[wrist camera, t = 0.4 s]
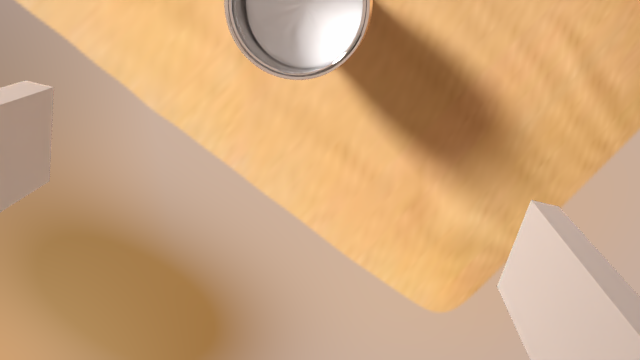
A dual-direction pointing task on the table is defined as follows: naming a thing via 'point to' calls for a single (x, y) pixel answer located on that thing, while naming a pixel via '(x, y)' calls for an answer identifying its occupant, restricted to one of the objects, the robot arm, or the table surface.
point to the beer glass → (298, 33)
